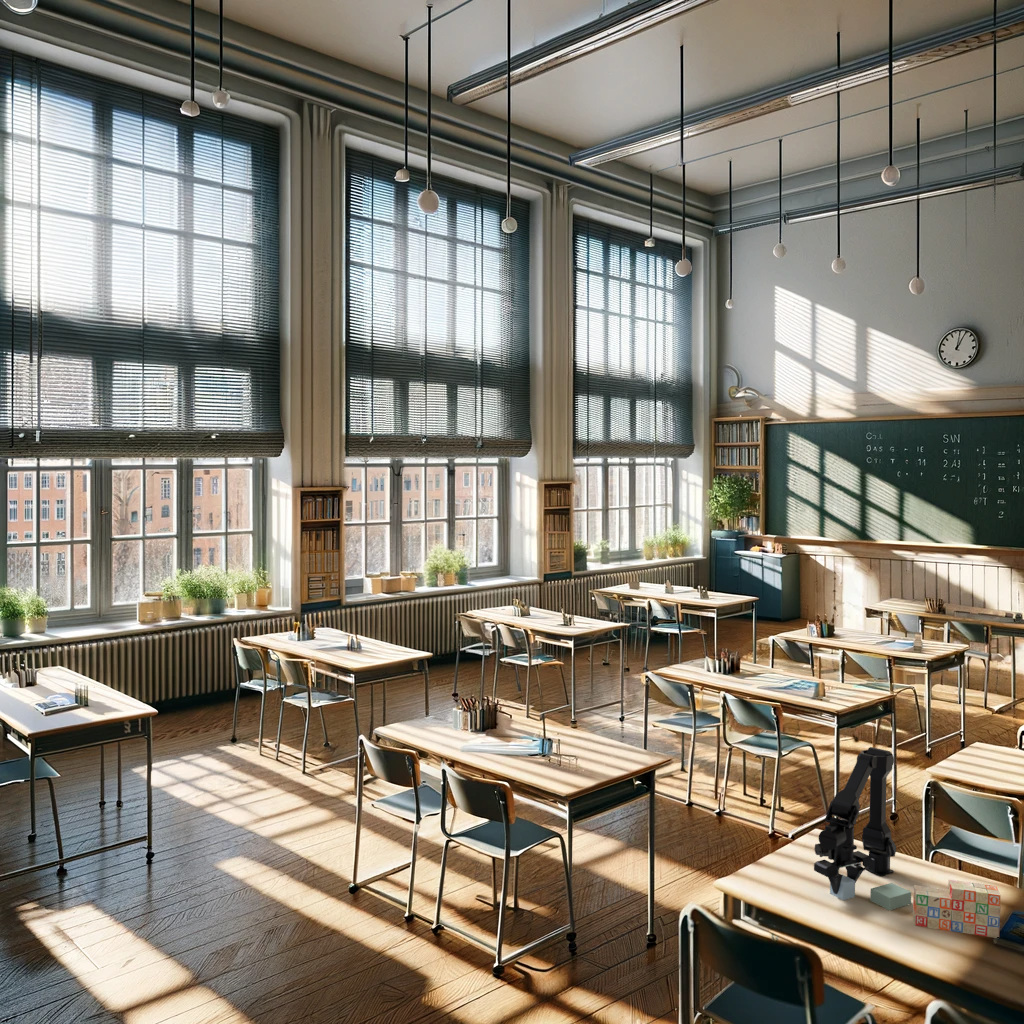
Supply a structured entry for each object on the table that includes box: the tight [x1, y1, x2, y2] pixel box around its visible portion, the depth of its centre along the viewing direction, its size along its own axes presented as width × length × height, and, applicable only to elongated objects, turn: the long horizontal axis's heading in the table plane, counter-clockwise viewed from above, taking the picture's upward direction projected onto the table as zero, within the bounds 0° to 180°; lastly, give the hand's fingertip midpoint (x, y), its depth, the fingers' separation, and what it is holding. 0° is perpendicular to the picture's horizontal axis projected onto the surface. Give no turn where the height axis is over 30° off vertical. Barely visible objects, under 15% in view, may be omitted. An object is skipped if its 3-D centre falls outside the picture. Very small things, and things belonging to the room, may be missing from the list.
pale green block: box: [869, 882, 912, 911], centre depth 275 cm, size 9×7×4 cm
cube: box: [829, 874, 856, 901], centre depth 279 cm, size 5×5×5 cm
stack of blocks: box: [912, 879, 1001, 939], centre depth 260 cm, size 21×6×12 cm, turn 72°
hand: (842, 891), depth 279 cm, fingers open, 6 cm apart
